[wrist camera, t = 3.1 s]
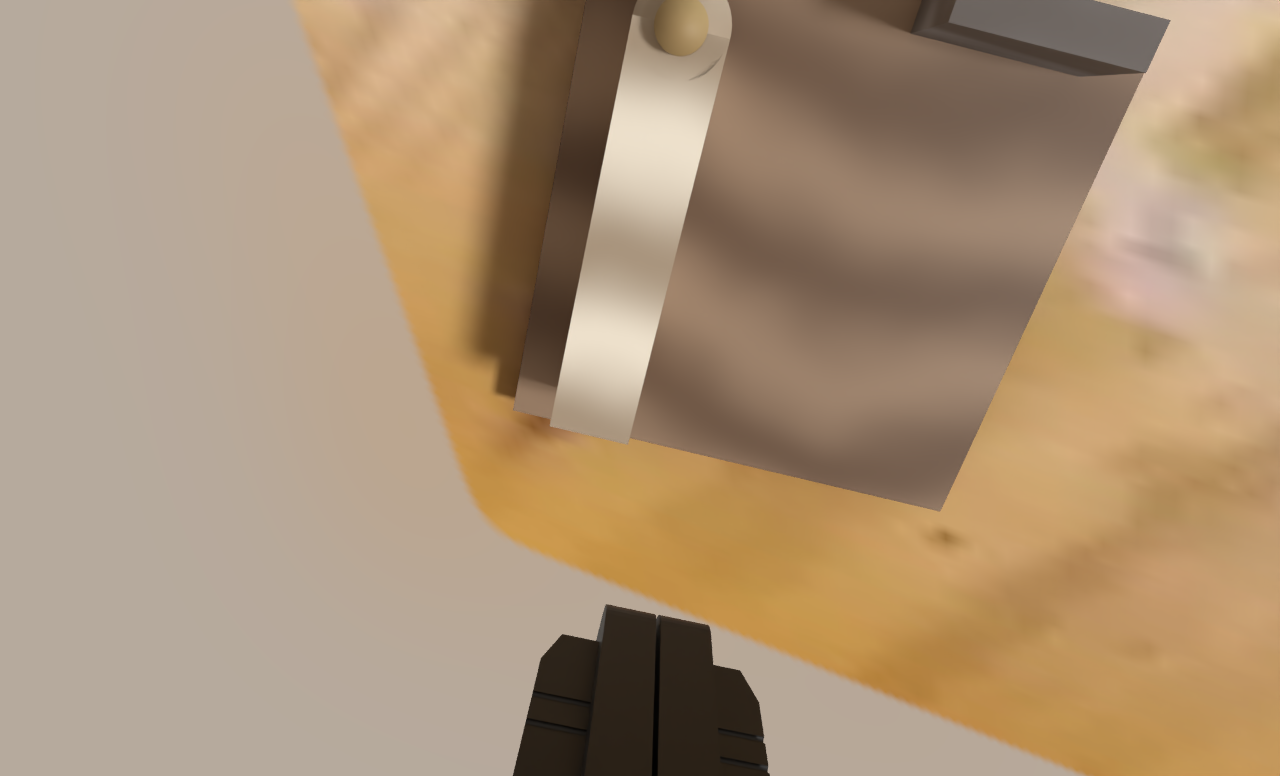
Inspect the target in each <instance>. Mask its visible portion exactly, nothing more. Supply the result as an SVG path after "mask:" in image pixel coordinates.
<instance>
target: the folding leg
mask: <svg viewBox="0 0 1280 776" xmlns="http://www.w3.org/2000/svg"><path fill="white" fill-rule="evenodd" d="M731 32H732V16H731V10H730V7H729V3H728V1H727V0H637V2H636V5H635V7H634V11H633V15H632V20H631V25H630V30H629V35H628V40H627V45H626V50H625V55H624V60H623V65H622V70H621V75H620V80H619V85H618V90H617V95H616V100H615V104H614V109H613V114H612V119H611V124H610V129H609V134H608V139H607V144H606V149H605V154H604V159H603V164H602V169H601V174H600V179H599V184H598V189H597V194H596V199H595V204H594V209H593V214H592V219H591V224H590V229H589V233H588V238H587V243H586V248H585V253H584V258H583V263H582V268H581V273H580V278H579V283H578V288H577V293H576V298H575V303H574V308H573V313H572V318H571V323H570V328H569V333H568V338H567V343H566V348H565V353H564V358H563V363H562V367H561V372H560V377H559V382H558V387H557V392H556V397H555V402H554V407H553V412H552V417H551V422H550V426H551V427H555V428H560V429H564V430H568V431H572V432H577V433H581V434H585V435H589V436H593V437H598V438H602V439H606V440H610V441H615V442H619V443H623V444H627V445H628V442H629V438H630V434H631V430H632V426H633V422H634V418H635V414H636V410H637V406H638V402H639V399H640V395H641V391H642V387H643V383H644V379H645V375H646V371H647V367H648V363H649V359H650V355H651V351H652V347H653V343H654V339H655V335H656V331H657V327H658V323H659V319H660V315H661V311H662V307H663V303H664V299H665V295H666V291H667V287H668V284H669V280H670V276H671V272H672V268H673V264H674V260H675V256H676V252H677V248H678V244H679V240H680V236H681V232H682V228H683V224H684V220H685V216H686V212H687V208H688V204H689V200H690V196H691V192H692V188H693V184H694V180H695V176H696V172H697V169H698V165H699V161H700V157H701V153H702V149H703V145H704V141H705V137H706V133H707V129H708V125H709V121H710V117H711V113H712V109H713V105H714V101H715V97H716V93H717V89H718V85H719V81H720V77H721V73H722V69H723V65H724V61H725V58H726V54H727V50H728V46H729V42H730V37H731Z"/></svg>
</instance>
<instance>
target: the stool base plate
mask: <svg viewBox="0 0 1280 776" xmlns="http://www.w3.org/2000/svg"><path fill="white" fill-rule="evenodd" d="M727 1H728V3H729V7H730V10H731V16H732V32H731V37H730V42H729V46H728V50H727V54H726V58H725V61H724V65H723V69H722V73H721V77H720V81H719V85H718V89H717V93H716V97H715V101H714V105H713V109H712V113H711V117H710V121H709V125H708V129H707V133H706V137H705V141H704V145H703V149H702V153H701V157H700V161H699V165H698V169H697V172H696V176H695V180H694V184H693V188H692V192H691V196H690V200H689V204H688V208H687V212H686V216H685V220H684V224H683V228H682V232H681V236H680V240H679V244H678V248H677V252H676V256H675V260H674V264H673V268H672V272H671V276H670V280H669V284H668V287H667V291H666V295H665V299H664V303H663V307H662V311H661V315H660V319H659V323H658V327H657V331H656V335H655V339H654V343H653V347H652V351H651V355H650V359H649V363H648V367H647V371H646V375H645V379H644V383H643V387H642V391H641V395H640V399H639V402H638V406H637V410H636V414H635V418H634V422H633V426H632V430H631V434H630V438H632V439H636V440H641V441H645V442H649V443H653V444H658V445H662V446H666V447H670V448H674V449H679V450H683V451H687V452H691V453H696V454H700V455H704V456H708V457H712V458H717V459H721V460H725V461H729V462H734V463H738V464H742V465H746V466H750V467H755V468H759V469H763V470H767V471H771V472H776V473H780V474H784V475H788V476H793V477H797V478H801V479H805V480H809V481H814V482H818V483H822V484H826V485H831V486H835V487H839V488H843V489H847V490H852V491H856V492H860V493H864V494H868V495H873V496H877V497H881V498H885V499H890V500H894V501H898V502H902V503H906V504H911V505H915V506H919V507H923V508H928V509H932V510H936V511H941V509H942V507H943V504H944V502H945V500H946V498H947V496H948V494H949V492H950V489H951V487H952V485H953V483H954V481H955V479H956V476H957V474H958V472H959V470H960V468H961V466H962V464H963V461H964V459H965V457H966V455H967V453H968V451H969V448H970V446H971V444H972V442H973V440H974V438H975V436H976V433H977V431H978V429H979V427H980V425H981V423H982V421H983V418H984V416H985V414H986V412H987V410H988V408H989V405H990V403H991V401H992V399H993V397H994V395H995V393H996V390H997V388H998V386H999V384H1000V382H1001V380H1002V377H1003V375H1004V373H1005V371H1006V369H1007V367H1008V365H1009V362H1010V360H1011V358H1012V356H1013V354H1014V352H1015V349H1016V347H1017V345H1018V343H1019V341H1020V339H1021V337H1022V334H1023V332H1024V330H1025V328H1026V326H1027V324H1028V322H1029V319H1030V317H1031V315H1032V313H1033V311H1034V309H1035V306H1036V304H1037V302H1038V300H1039V298H1040V296H1041V294H1042V291H1043V289H1044V287H1045V285H1046V283H1047V281H1048V278H1049V276H1050V274H1051V272H1052V270H1053V268H1054V266H1055V263H1056V261H1057V259H1058V257H1059V255H1060V253H1061V250H1062V248H1063V246H1064V244H1065V242H1066V240H1067V238H1068V235H1069V233H1070V231H1071V229H1072V227H1073V225H1074V223H1075V220H1076V218H1077V216H1078V214H1079V212H1080V210H1081V207H1082V205H1083V203H1084V201H1085V199H1086V197H1087V195H1088V192H1089V190H1090V188H1091V186H1092V184H1093V182H1094V179H1095V177H1096V175H1097V173H1098V171H1099V169H1100V167H1101V164H1102V162H1103V160H1104V158H1105V156H1106V154H1107V151H1108V149H1109V147H1110V145H1111V143H1112V141H1113V139H1114V136H1115V134H1116V132H1117V130H1118V128H1119V126H1120V123H1121V121H1122V119H1123V117H1124V115H1125V113H1126V111H1127V108H1128V106H1129V104H1130V102H1131V100H1132V98H1133V96H1134V93H1135V91H1136V89H1137V87H1138V85H1139V83H1140V80H1141V78H1142V76H1143V74H1144V73H1146V72H1147V70H1148V68H1149V65H1150V63H1151V61H1152V59H1153V57H1154V55H1155V53H1156V50H1157V48H1158V46H1159V44H1160V42H1161V40H1162V37H1163V35H1164V33H1165V31H1166V29H1167V27H1168V25H1169V22H1170V20H1167V19H1163V18H1159V17H1155V16H1152V15H1148V14H1144V13H1140V12H1136V11H1132V10H1128V9H1124V8H1121V7H1117V6H1113V5H1109V4H1105V3H1101V2H1097V1H1094V0H727ZM636 2H637V0H586V2H585V8H584V14H583V19H582V25H581V31H580V36H579V42H578V48H577V53H576V59H575V64H574V70H573V76H572V81H571V87H570V93H569V98H568V104H567V110H566V115H565V121H564V126H563V132H562V138H561V143H560V149H559V155H558V160H557V166H556V172H555V177H554V183H553V188H552V194H551V200H550V205H549V211H548V217H547V222H546V228H545V234H544V239H543V245H542V250H541V256H540V262H539V267H538V273H537V279H536V284H535V290H534V296H533V301H532V307H531V312H530V318H529V324H528V329H527V335H526V341H525V346H524V352H523V358H522V363H521V369H520V374H519V380H518V386H517V391H516V397H515V403H514V408H513V410H514V411H518V412H523V413H527V414H531V415H535V416H539V417H544V418H548V419H551V417H552V412H553V407H554V402H555V397H556V392H557V387H558V382H559V377H560V372H561V367H562V363H563V358H564V353H565V348H566V343H567V338H568V333H569V328H570V323H571V318H572V313H573V308H574V303H575V298H576V293H577V288H578V283H579V278H580V273H581V268H582V263H583V258H584V253H585V248H586V243H587V238H588V233H589V229H590V224H591V219H592V214H593V209H594V204H595V199H596V194H597V189H598V184H599V179H600V174H601V169H602V164H603V159H604V154H605V149H606V144H607V139H608V134H609V129H610V124H611V119H612V114H613V109H614V104H615V100H616V95H617V90H618V85H619V80H620V75H621V70H622V65H623V60H624V55H625V50H626V45H627V40H628V35H629V30H630V25H631V20H632V15H633V11H634V7H635V5H636Z"/></svg>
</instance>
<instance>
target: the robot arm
mask: <svg viewBox="0 0 1280 776" xmlns="http://www.w3.org/2000/svg"><path fill="white" fill-rule="evenodd" d="M763 738H764V734H763V727H762V720H761V714H760V707H759V702H758V700H757V698H756V697H755V695H754V693H753V692H752V690H751V688H750V686H749V685H748V683H747V682H746V680H745V678H744V676H743V675H742V673H741V671H740V670H735V669H730V668H725V667H720V666H716V665H713V656H712V642H711V631H710V627H709V626H708V625H705V624H700V623H695V622H690V621H686V620H681V619H675V618H671V617H665V616H661V615H659V616H658V617H657V619H656V615H655V614H651V613H646V612H640V611H636V610H632V609H626V608H622V607H616V606H612V605H606V606H605V608H604V612H603V616H602V620H601V624H600V628H599V632H598V636H597V640H596V641H592V640H588V639H583V638H578V637H573V636H569V635H563V634H562V635H561V636H560V637H559V639H558V640H557V641H556V642H555V643H554V644H553V645H552V647H551V648H550V649H549V650H548V651H547V652H546V653H545V654H544V655H543V657H542V658H541V661H540V664H539V669H538V673H537V677H536V681H535V685H534V690H533V694H532V698H531V702H530V706H529V711H528V715H527V719H526V723H525V727H524V732H523V736H522V740H521V744H520V748H519V752H518V757H517V761H516V765H515V769H514V773H513V776H770V774H769V773H768V772H767V770H768V761H767V754H766V747H765V744H764V743H763Z"/></svg>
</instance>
